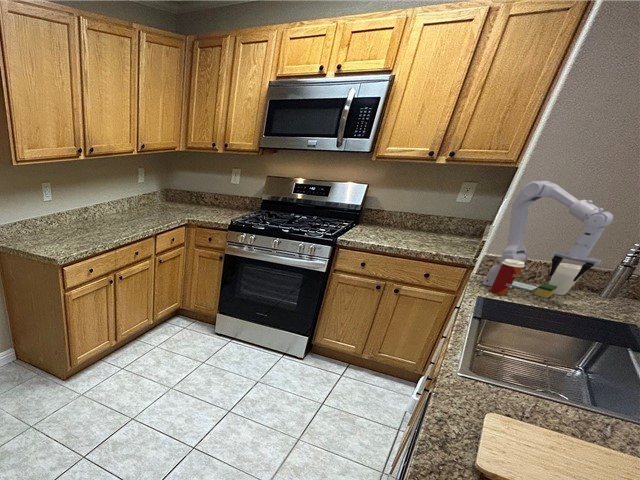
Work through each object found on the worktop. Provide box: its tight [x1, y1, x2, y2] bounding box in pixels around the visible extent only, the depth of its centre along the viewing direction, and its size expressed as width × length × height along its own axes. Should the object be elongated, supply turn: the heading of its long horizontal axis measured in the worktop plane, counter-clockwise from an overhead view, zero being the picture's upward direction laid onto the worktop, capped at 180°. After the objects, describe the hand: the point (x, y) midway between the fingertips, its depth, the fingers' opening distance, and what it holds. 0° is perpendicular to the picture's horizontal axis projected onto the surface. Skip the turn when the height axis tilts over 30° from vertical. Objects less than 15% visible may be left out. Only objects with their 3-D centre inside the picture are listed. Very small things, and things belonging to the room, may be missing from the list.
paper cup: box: [489, 259, 526, 296], centre depth 180 cm, size 8×8×14 cm
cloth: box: [511, 280, 538, 292], centre depth 192 cm, size 11×8×1 cm
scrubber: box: [534, 283, 557, 299], centre depth 182 cm, size 7×4×4 cm, turn 124°
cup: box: [548, 262, 583, 296], centre depth 183 cm, size 9×9×12 cm
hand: (562, 278), depth 170 cm, fingers open, 7 cm apart
